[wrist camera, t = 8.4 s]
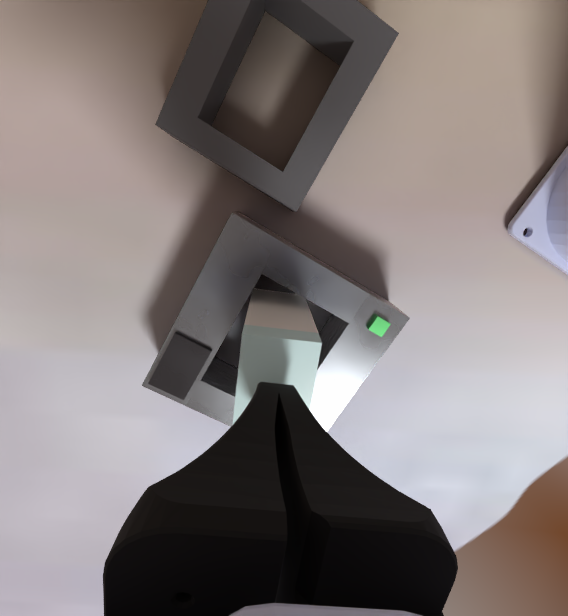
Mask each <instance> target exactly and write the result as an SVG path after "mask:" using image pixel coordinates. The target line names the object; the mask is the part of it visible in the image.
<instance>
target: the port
mask: <svg viewBox="0 0 568 616" xmlns="http://www.w3.org/2000/svg"><path fill="white" fill-rule="evenodd" d="M261 274H263V275H265V276H266V277H268V278H270V279H272V280H273V281H275V282H277V283H279V284H281V285H282V286H284V287H286V288H288V289H289V290H291V291H293V292H295V293H296V294H298V295H300V296H302V297H304V298H305V299H307V300H309V301H311V302H312V303H314V304H316V305H318V306H319V307H321V308H323V309H325V310H326V311H328V312H330V313H332V315H331V317H330V318H329V320H328V321H327V323H326V324H325V326H324V327H323V329H322V330H321V332H320V333H319V336H320V339H321V341H322V346H321V352H320V357H319V362H318V368H317V373H316V379H315V384H314V390H313V395H312V400H311V406H310V411H311V413H312V414H313V415H314V417H315V418H316V419H317V421H318V422H319V423H320V425H321V426H322V427H323V428H324V429H325V430H326V432H327V431H328V429H329V428H330V427H331V425H332V424H333V423H334V421H335V420H336V418H337V417H338V416H339V414H340V413H341V412H342V410H343V409H344V407H345V406H346V405H347V403H348V402H349V401H350V399H351V398H352V397H353V395H354V394H355V392H356V391H357V390H358V388H359V387H360V386H361V384H362V383H363V381H364V380H365V379H366V377H367V376H368V375H369V373H370V372H371V371H372V369H373V368H374V366H375V365H376V364H377V362H378V361H379V360H380V358H381V357H382V356H383V354H384V353H385V351H386V350H387V349H388V347H389V346H390V345H391V343H392V342H393V340H394V339H395V338H396V336H397V335H398V334H399V332H400V331H401V330H402V328H403V327H404V325H405V324H406V323H407V321H408V320H409V319H410V318H409V317H408V316H407V315H405V314H404V313H403V312H402V311H400V310H399V309H398V308H397V307H395V306H394V305H393V304H392V303H390V302H389V301H388V300H386V299H384V298H383V297H381V296H379V295H377V294H376V293H374V292H372V291H371V290H369V289H367V288H366V287H364V286H362V285H361V284H359V283H357V282H356V281H354V280H352V279H351V278H349V277H347V276H346V275H344V274H342V273H341V272H339V271H337V270H336V269H334V268H332V267H331V266H329V265H327V264H326V263H324V262H322V261H320V260H319V259H317V258H315V257H314V256H312V255H310V254H309V253H307V252H305V251H304V250H302V249H300V248H299V247H297V246H295V245H294V244H292V243H290V242H289V241H287V240H285V239H284V238H282V237H280V236H279V235H277V234H275V233H274V232H272V231H270V230H268V229H267V228H265V227H263V226H262V225H260V224H258V223H257V222H255V221H253V220H252V219H250V218H248V217H247V216H245V215H243V214H242V213H240V212H232V213H231V215H230V217H229V219H228V221H227V223H226V225H225V227H224V229H223V231H222V232H221V234H220V236H219V238H218V240H217V242H216V244H215V246H214V248H213V250H212V252H211V254H210V256H209V257H208V259H207V261H206V263H205V265H204V267H203V269H202V271H201V273H200V275H199V277H198V279H197V280H196V282H195V284H194V286H193V288H192V290H191V292H190V294H189V296H188V298H187V300H186V302H185V304H184V305H183V307H182V309H181V311H180V313H179V315H178V317H177V319H176V321H175V323H174V325H173V327H172V329H171V330H170V332H169V334H168V336H167V338H166V340H165V342H164V344H163V346H162V348H161V350H160V352H159V354H158V355H157V357H156V359H155V361H154V363H153V365H152V367H151V369H150V371H149V373H148V375H147V377H146V378H145V380H144V382H143V384H142V386H144V387H146V388H148V389H150V390H152V391H155V392H157V393H159V394H161V395H163V396H165V397H168V398H170V399H172V400H174V401H176V402H178V403H181V404H183V405H185V406H187V407H189V408H191V409H194V410H196V411H198V412H200V413H202V414H205V415H207V416H209V417H211V418H213V419H215V420H218V421H220V422H222V423H224V424H226V425H228V426H232V425H233V415H234V405H235V396H236V386H237V377H238V369H237V368H235V367H233V366H231V365H229V364H227V363H225V362H223V361H221V360H219V359H217V358H215V357H214V356H215V354H216V353H217V351H218V349H219V347H220V346H221V344H222V342H223V340H224V339H225V337H226V335H227V333H228V332H229V330H230V328H231V326H232V325H233V323H234V321H235V319H236V318H237V316H238V314H239V312H240V311H241V309H242V307H243V306H244V304H245V302H246V300H247V299H248V297H249V295H250V293H251V292H252V290H253V288H254V286H255V285H256V283H257V281H258V279H259V278H260V276H261Z"/></svg>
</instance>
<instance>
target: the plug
mask: <svg viewBox="0 0 568 616" xmlns="http://www.w3.org/2000/svg"><path fill="white" fill-rule="evenodd" d="M321 346H322V341H321V339H320V336H319V333H318V330H317V328H316V325H315V322H314V320H313V317H312V314H311V311H310V309H309V306H308V303H307V300H306V299H305V298H304V297H302V296H300V295H298V294H295V293H287V292H279V291H271V290H262V289H254V288H253V290H252V294H251V298H250V303H249V307H248V311H247V315H246V319H245V323H244V328H243V332H242V339H241V348H240V358H239V367H238V377H237V386H236V396H235V405H234V415H233V424H234V423H235V422H236V420H237V419H238V418H239V416H240V415H241V414H242V413H243V411H244V410H245V408H246V407H247V405H248V404H249V402H250V400H251V399H252V397H253V395H254V393H255V391H256V388H257V384H258V383H260V382H269V383H278V384H287V385H294V387H295V388H296V390H297V391H298V393H299V394H300V396H301V398H302V399H303V401H304V402H305V404H306V405H307V407H308V408H309V410H310V406H311V400H312V395H313V390H314V384H315V379H316V373H317V368H318V362H319V357H320V352H321Z"/></svg>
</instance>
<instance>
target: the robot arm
mask: <svg viewBox="0 0 568 616" xmlns="http://www.w3.org/2000/svg"><path fill="white" fill-rule="evenodd" d="M526 228H527V233H526V235H525V236H524V235H523V231H524V230H525V229H526ZM508 233H509V234H510V235H511V236H512V237H514V238H515V239H517V240H518V241H520V242H521V243H522V244H524V245H525V246H527V247H528V248H530V249H531V250H532V251H534V252H535V253H537V254H538V255H540V256H541V257H542V258H544V259H545V260H547V261H548V262H550V263H551V264H552V265H554V266H555V267H557V268H558V269H560V270H561V271H562V272H564V273H565V274H567V275H568V146H567V147H566V149H565V150H564V151H563V153H562V154H561V155H560V157H559V158H558V159H557V161H556V162H555V163H554V165H553V166H552V167H551V169H550V170H549V171H548V173H547V174H546V175H545V176H544V178H543V179H542V180H541V182H540V183H539V184H538V186H537V187H536V188H535V190H534V191H533V192H532V194H531V195H530V196H529V198H528V199H527V200H526V202H525V203H524V204H523V206H522V207H521V208H520V210H519V211H518V212H517V214H516V215H515V216H514V217H513V219H512V220H511V221H510V223H509V225H508ZM457 570H458V566H457V558H456V555H455V553H454V551H453V549H452V547H451V545H450V543H449V542H448V539H447V537H446V535H445V533H444V531H443V529H442V528H441V526H440V524H439V523H438V521H437V519H436V518H435V516H434V514H433V513H432V511H431V509H429V508H427V507H426V506H424V505H422V504H420V503H418V502H417V501H415V500H413V499H411V498H410V497H408V496H406V495H404V494H403V493H401V492H399V491H398V490H396V489H395V488H393V487H392V486H390V485H389V484H387V483H386V482H384V481H383V480H381V479H380V478H378V477H377V476H375V475H374V474H373V473H371V472H370V471H369V470H367V469H366V468H365V467H364V466H362V465H361V464H360V463H359V462H357V461H356V460H355V459H354V458H353V457H351V456H350V455H349V454H348V453H347V452H346V451H345V450H344V449H343V448H342V447H341V446H340V445H339V444H338V443H337V442H336V441H335V440H334V439H333V438H332V437H331V436H330V435H329V434H328V433H327V432H326V430H325V429H324V428H323V427H322V426H321V425H320V423H319V422H318V421H317V419H316V418H315V417H314V415H313V414H312V413H311V411H310V410H309V408H308V407H307V405H306V404H305V402H304V401H303V399H302V398H301V396H300V394H299V393H298V391H297V390H296V388H295V387H294V385H287V384H278V383H269V382H260V383H258V384H257V388H256V391H255V393H254V395H253V397H252V399H251V400H250V402H249V404H248V405H247V407H246V408H245V410H244V411H243V413H242V414H241V415H240V416H239V418H238V419H237V420H236V422H235V423H234V424H233V425H232V426H231V428H230V429H229V430H228V431H227V432H226V433H225V434H224V435H223V436H222V437H221V438H220V439H219V440H218V441H217V442H216V443H215V444H213V445H212V446H211V447H210V448H209V449H208V450H207V451H205V452H204V453H203V454H202V455H200V456H199V457H198V458H196V459H195V460H193V461H192V462H191V463H189V464H188V465H186V466H185V467H184V468H182V469H181V470H179V471H177V472H176V473H174V474H172V475H170V476H168V477H167V478H165V479H163V480H161V481H159V482H157V483H155V484H153V485H151V486H149V487H148V488H147V490H146V491H145V492H144V494H143V495H142V496H141V498H140V499H139V501H138V502H137V504H136V505H135V507H134V508H133V510H132V511H131V513H130V514H129V516H128V518H127V519H126V521H125V523H124V524H123V526H122V528H121V530H120V532H119V534H118V536H117V538H116V540H115V542H114V544H113V547H112V549H111V551H110V553H109V555H108V557H107V559H106V562H105V567H104V573H103V590H104V616H444V615H443V613H442V610H443V608H444V605H445V603H446V600H447V598H448V596H449V593H450V591H451V588H452V586H453V583H454V581H455V578H456V574H457Z"/></svg>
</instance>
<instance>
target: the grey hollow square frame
mask: <svg viewBox="0 0 568 616" xmlns="http://www.w3.org/2000/svg"><path fill="white" fill-rule="evenodd" d="M265 11H266V12H268V13H269V14H271V15H272V16H273V17H275V18H276V19H277V20H279V21H280V22H281V23H283V24H284V25H286V26H287V27H288V28H290V29H291V30H292V31H294V32H295V33H296V34H298V35H299V36H301V37H302V38H303V39H305V40H306V41H307V42H309V43H310V44H311V45H313V46H314V47H316V48H317V49H318V50H320V51H321V52H322V53H324V54H325V55H326V56H328V57H329V58H331V59H332V60H333V61H335V62H336V63H337V64H339V65H340V68H339V70H338V72H337V74H336V75H335V77H334V79H333V81H332V83H331V85H330V86H329V88H328V90H327V92H326V94H325V96H324V98H323V99H322V101H321V103H320V105H319V107H318V109H317V110H316V112H315V114H314V116H313V118H312V120H311V121H310V123H309V125H308V127H307V129H306V131H305V132H304V134H303V136H302V138H301V140H300V142H299V143H298V145H297V147H296V149H295V151H294V153H293V154H292V156H291V158H290V160H289V162H288V164H287V165H286V167H285V169H284V171H283V172H282V171H281V170H279V169H278V168H276V167H274V166H273V165H271V164H270V163H268V162H267V161H265V160H263V159H262V158H260V157H259V156H257V155H256V154H254V153H252V152H251V151H249V150H248V149H246V148H245V147H243V146H241V145H240V144H238V143H237V142H235V141H234V140H232V139H231V138H229V137H227V136H226V135H224V134H223V133H221V132H220V131H218V130H216V129H215V128H213V127H212V126H211V125H212V123H213V120H214V118H215V116H216V114H217V112H218V110H219V108H220V105H221V103H222V101H223V99H224V97H225V95H226V93H227V91H228V88H229V86H230V84H231V82H232V80H233V78H234V76H235V74H236V71H237V69H238V67H239V65H240V63H241V61H242V59H243V57H244V54H245V52H246V50H247V48H248V46H249V44H250V42H251V39H252V37H253V35H254V33H255V31H256V29H257V27H258V25H259V22H260V20H261V18H262V16H263V14H264V12H265ZM398 34H399V33H398V32H397V31H395V30H394V29H393V28H392V27H390V26H389V25H388V24H386V23H385V22H384V21H383V20H381V19H380V18H379V17H378V16H376V15H375V14H374V13H372V12H371V11H370V10H369V9H367V8H366V7H365V6H364V5H362V4H361V3H360V2H358V1H357V0H208V2H207V5H206V7H205V9H204V12H203V14H202V16H201V19H200V21H199V23H198V26H197V28H196V30H195V33H194V35H193V37H192V40H191V42H190V44H189V47H188V49H187V52H186V54H185V56H184V59H183V61H182V63H181V66H180V68H179V70H178V73H177V75H176V77H175V80H174V82H173V84H172V87H171V89H170V91H169V94H168V96H167V98H166V101H165V103H164V105H163V108H162V110H161V112H160V115H159V117H158V120H157V122H156V124H155V125H157V126H158V127H160V128H161V129H162V130H164V131H165V132H167V133H168V134H170V135H171V136H172V137H174V138H175V139H177V140H179V141H180V142H182V143H184V144H185V145H187V146H188V147H190V148H192V149H193V150H195V151H197V152H198V153H200V154H201V155H203V156H205V157H206V158H208V159H209V160H211V161H213V162H214V163H216V164H218V165H219V166H221V167H222V168H224V169H226V170H227V171H229V172H231V173H232V174H234V175H235V176H237V177H239V178H240V179H242V180H243V181H245V182H247V183H248V184H250V185H252V186H253V187H255V188H256V189H258V190H260V191H261V192H263V193H265V194H266V195H268V196H269V197H271V198H273V199H274V200H276V201H278V202H279V203H281V204H282V205H284V206H286V207H287V208H289V209H290V210H292V211H295V212H297V210H298V208H299V206H300V205H301V203H302V201H303V199H304V198H305V196H306V194H307V193H308V191H309V189H310V187H311V186H312V184H313V182H314V180H315V179H316V177H317V175H318V173H319V172H320V170H321V168H322V166H323V165H324V163H325V161H326V159H327V158H328V156H329V154H330V152H331V151H332V149H333V147H334V145H335V144H336V142H337V140H338V138H339V137H340V135H341V133H342V131H343V130H344V128H345V126H346V125H347V123H348V121H349V119H350V118H351V116H352V114H353V112H354V111H355V109H356V107H357V105H358V104H359V102H360V100H361V98H362V97H363V95H364V93H365V91H366V90H367V88H368V86H369V84H370V83H371V81H372V79H373V77H374V76H375V74H376V72H377V70H378V69H379V67H380V65H381V63H382V62H383V60H384V58H385V56H386V55H387V53H388V51H389V50H390V48H391V46H392V44H393V43H394V41H395V39H396V37H397V36H398Z"/></svg>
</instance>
